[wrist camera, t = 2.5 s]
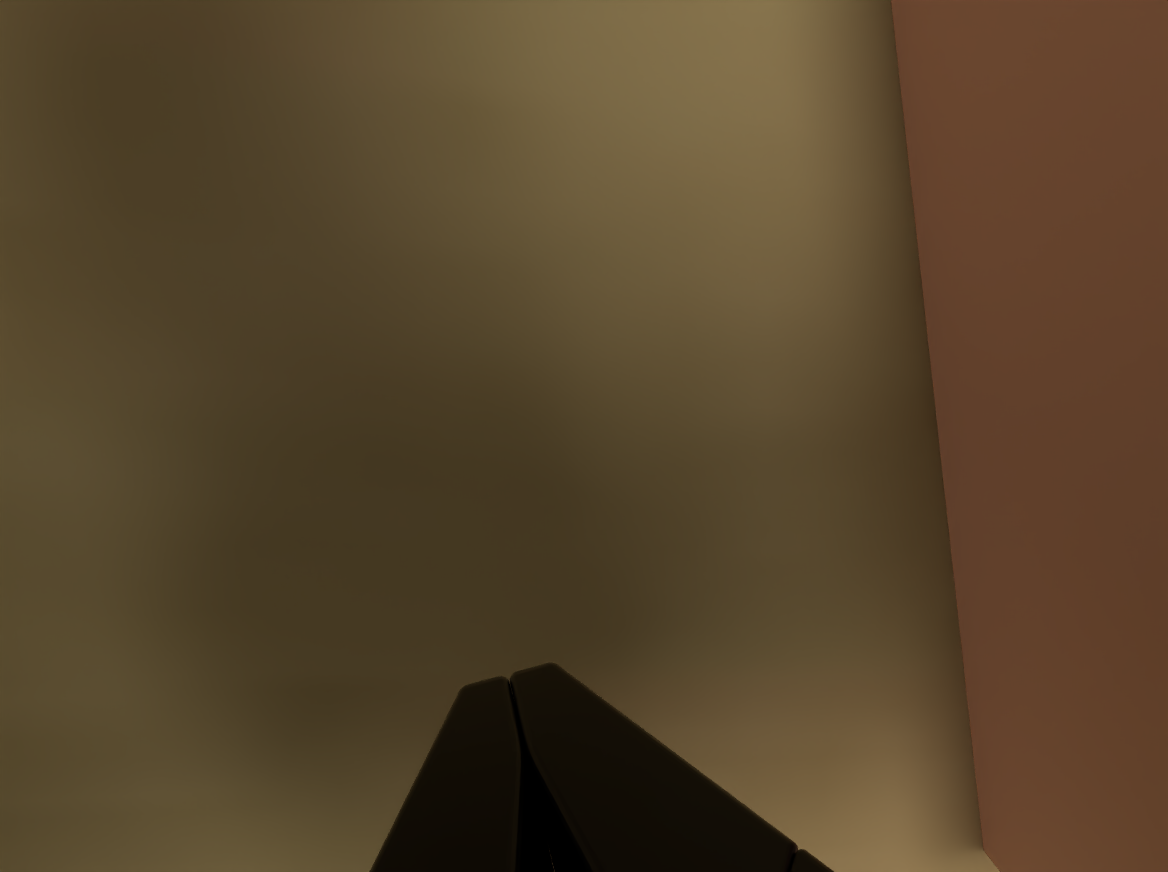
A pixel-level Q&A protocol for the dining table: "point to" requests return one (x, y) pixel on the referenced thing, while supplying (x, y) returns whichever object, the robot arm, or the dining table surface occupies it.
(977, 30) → the pink tabbed slab
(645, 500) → the dining table surface
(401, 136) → the dining table surface
